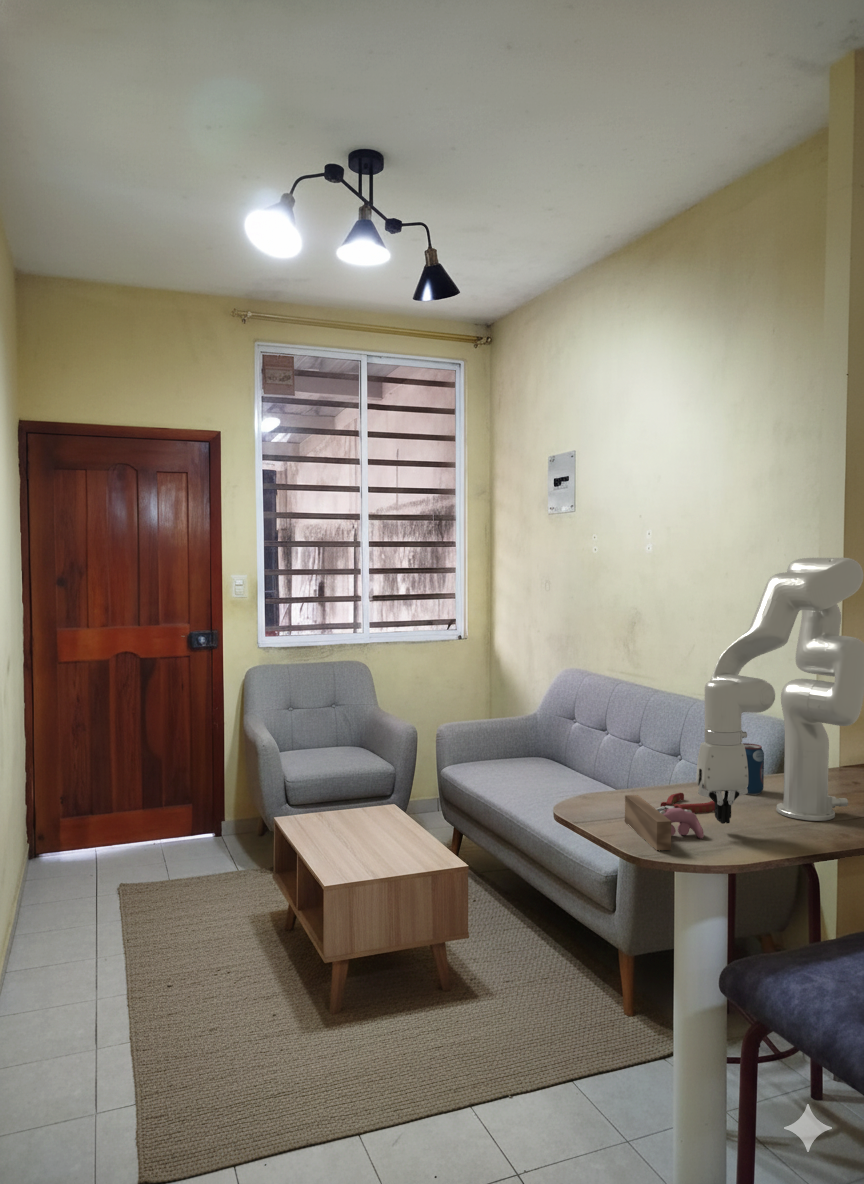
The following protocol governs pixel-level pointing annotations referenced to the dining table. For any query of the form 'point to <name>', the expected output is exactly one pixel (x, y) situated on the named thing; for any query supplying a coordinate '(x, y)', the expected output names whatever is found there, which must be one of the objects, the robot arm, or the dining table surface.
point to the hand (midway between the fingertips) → (723, 821)
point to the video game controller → (683, 821)
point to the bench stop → (648, 822)
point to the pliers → (693, 807)
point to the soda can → (755, 768)
